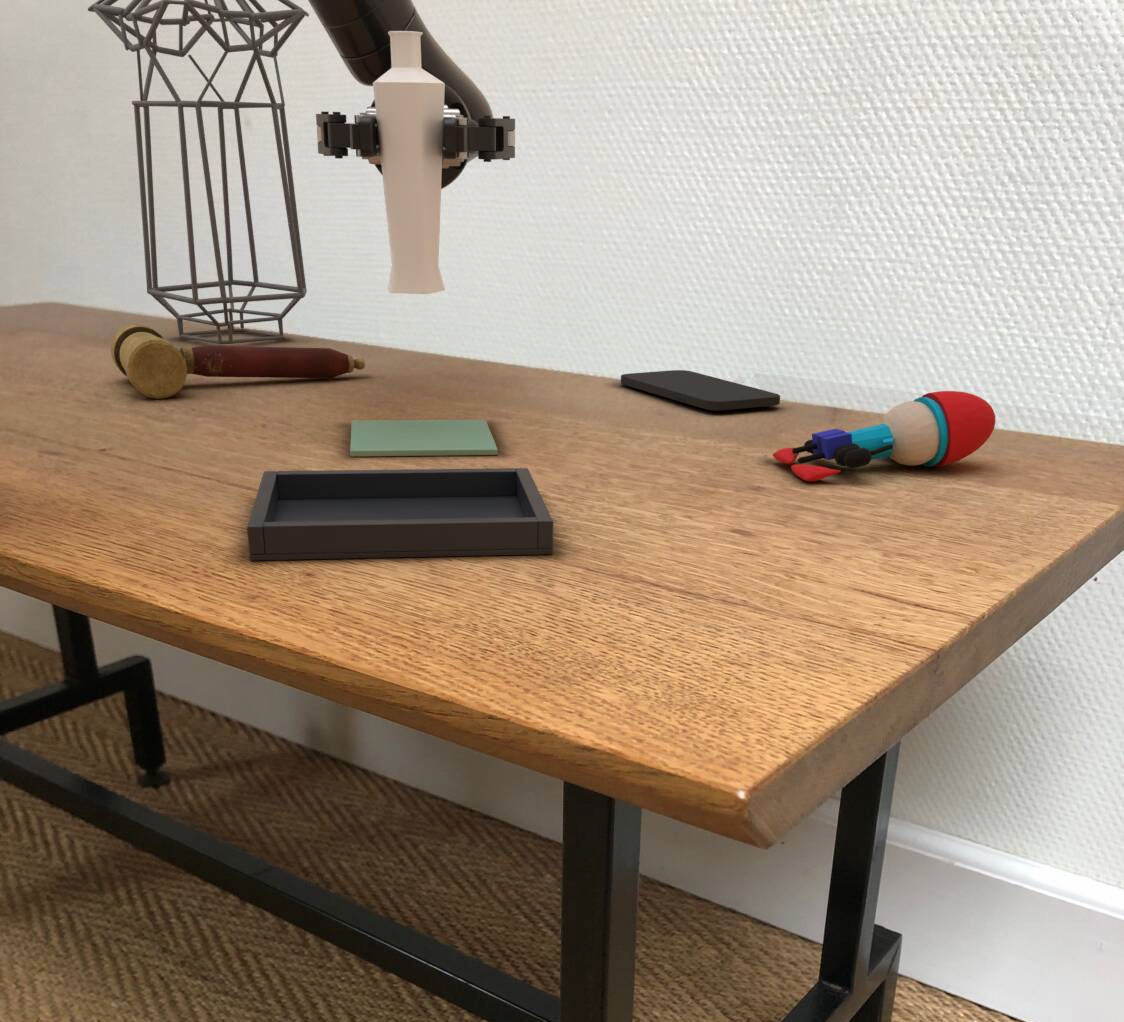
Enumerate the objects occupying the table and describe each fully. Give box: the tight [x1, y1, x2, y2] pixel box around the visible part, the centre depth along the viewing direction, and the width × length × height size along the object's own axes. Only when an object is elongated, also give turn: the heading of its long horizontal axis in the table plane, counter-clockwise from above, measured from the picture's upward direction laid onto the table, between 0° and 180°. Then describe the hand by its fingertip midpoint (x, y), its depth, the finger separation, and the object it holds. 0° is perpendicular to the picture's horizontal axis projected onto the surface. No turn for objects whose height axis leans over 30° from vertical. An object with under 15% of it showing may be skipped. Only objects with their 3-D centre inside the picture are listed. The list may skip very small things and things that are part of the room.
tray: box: [246, 467, 554, 562], centre depth 70 cm, size 16×12×2 cm
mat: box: [349, 419, 499, 458], centre depth 90 cm, size 10×10×1 cm
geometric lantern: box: [87, 0, 310, 345], centre depth 123 cm, size 16×16×35 cm
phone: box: [620, 369, 781, 412], centre depth 108 cm, size 7×1×15 cm
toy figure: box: [772, 390, 996, 482], centre depth 85 cm, size 8×5×15 cm
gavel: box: [110, 323, 366, 400], centre depth 108 cm, size 21×5×10 cm
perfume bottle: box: [372, 31, 446, 295], centre depth 80 cm, size 5×4×15 cm
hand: (408, 138), depth 77 cm, fingers closed on perfume bottle, 4 cm apart
